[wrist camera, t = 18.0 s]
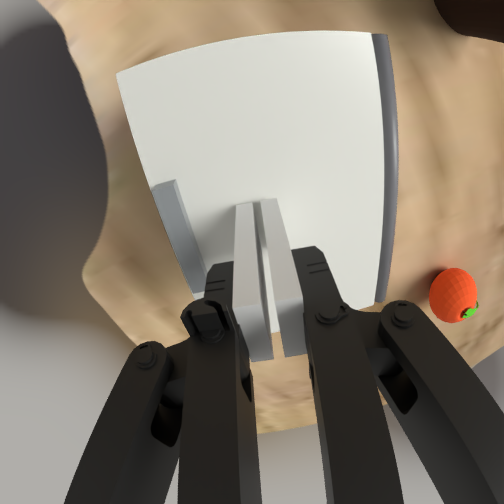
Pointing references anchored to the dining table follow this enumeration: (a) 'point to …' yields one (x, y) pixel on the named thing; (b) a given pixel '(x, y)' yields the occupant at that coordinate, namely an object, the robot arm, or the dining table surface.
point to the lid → (266, 149)
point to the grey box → (387, 159)
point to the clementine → (453, 295)
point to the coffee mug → (474, 17)
